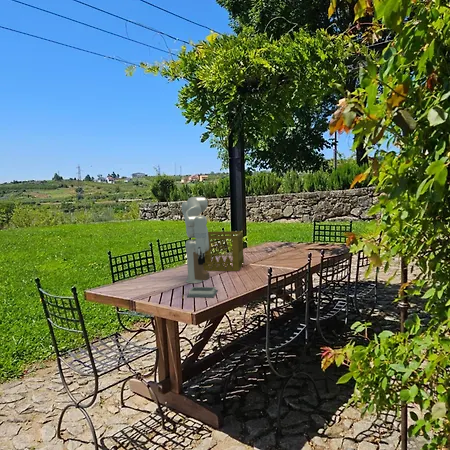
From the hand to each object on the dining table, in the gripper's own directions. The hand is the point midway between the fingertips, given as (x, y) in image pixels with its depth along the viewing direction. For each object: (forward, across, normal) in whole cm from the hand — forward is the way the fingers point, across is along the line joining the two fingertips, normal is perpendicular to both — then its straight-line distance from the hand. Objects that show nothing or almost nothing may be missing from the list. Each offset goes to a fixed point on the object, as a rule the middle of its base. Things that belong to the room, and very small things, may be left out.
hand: (201, 263), depth 254 cm
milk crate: (+20, -92, -3) cm, 94 cm away
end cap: (+20, 0, 0) cm, 20 cm away
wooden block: (+11, 0, 0) cm, 11 cm away
